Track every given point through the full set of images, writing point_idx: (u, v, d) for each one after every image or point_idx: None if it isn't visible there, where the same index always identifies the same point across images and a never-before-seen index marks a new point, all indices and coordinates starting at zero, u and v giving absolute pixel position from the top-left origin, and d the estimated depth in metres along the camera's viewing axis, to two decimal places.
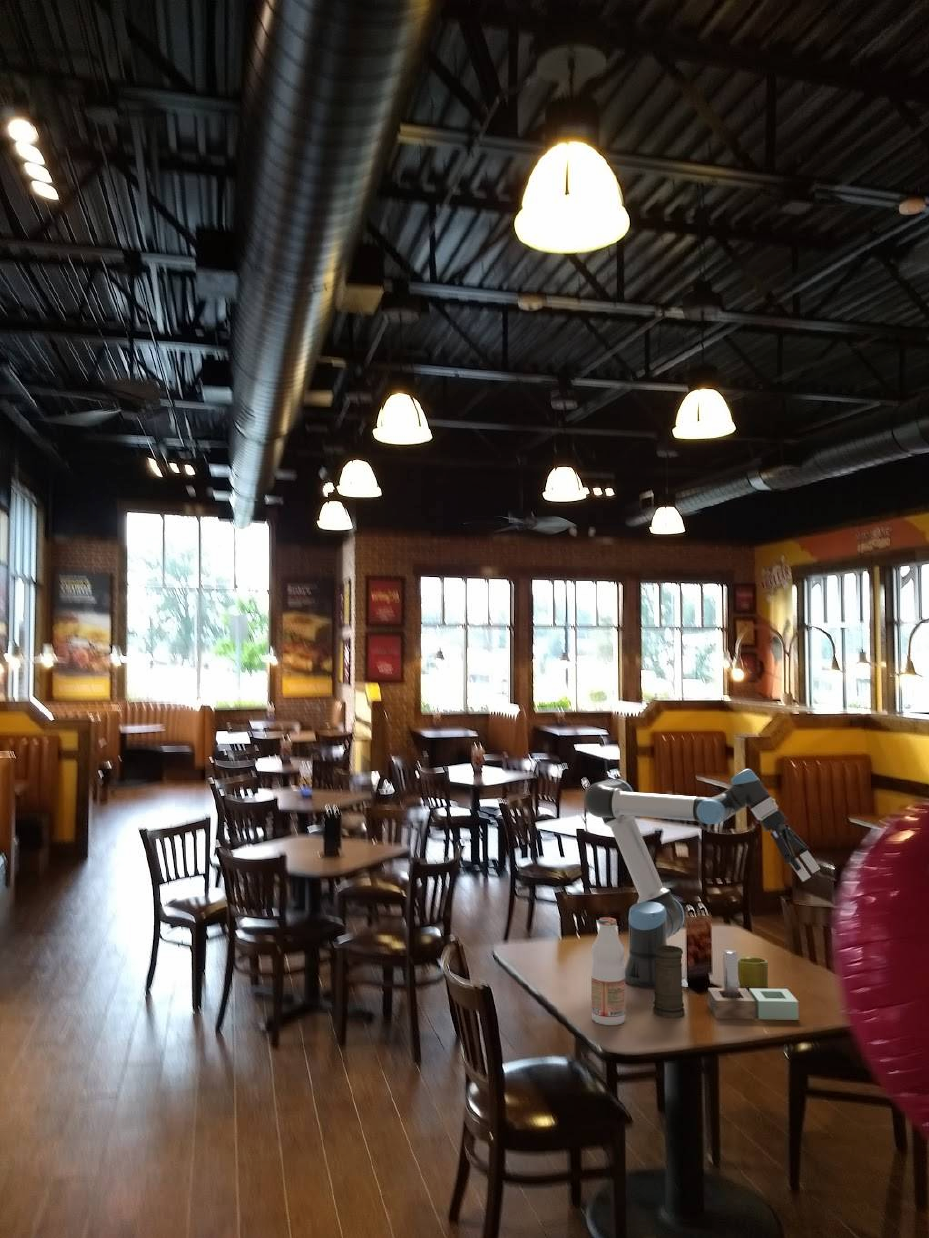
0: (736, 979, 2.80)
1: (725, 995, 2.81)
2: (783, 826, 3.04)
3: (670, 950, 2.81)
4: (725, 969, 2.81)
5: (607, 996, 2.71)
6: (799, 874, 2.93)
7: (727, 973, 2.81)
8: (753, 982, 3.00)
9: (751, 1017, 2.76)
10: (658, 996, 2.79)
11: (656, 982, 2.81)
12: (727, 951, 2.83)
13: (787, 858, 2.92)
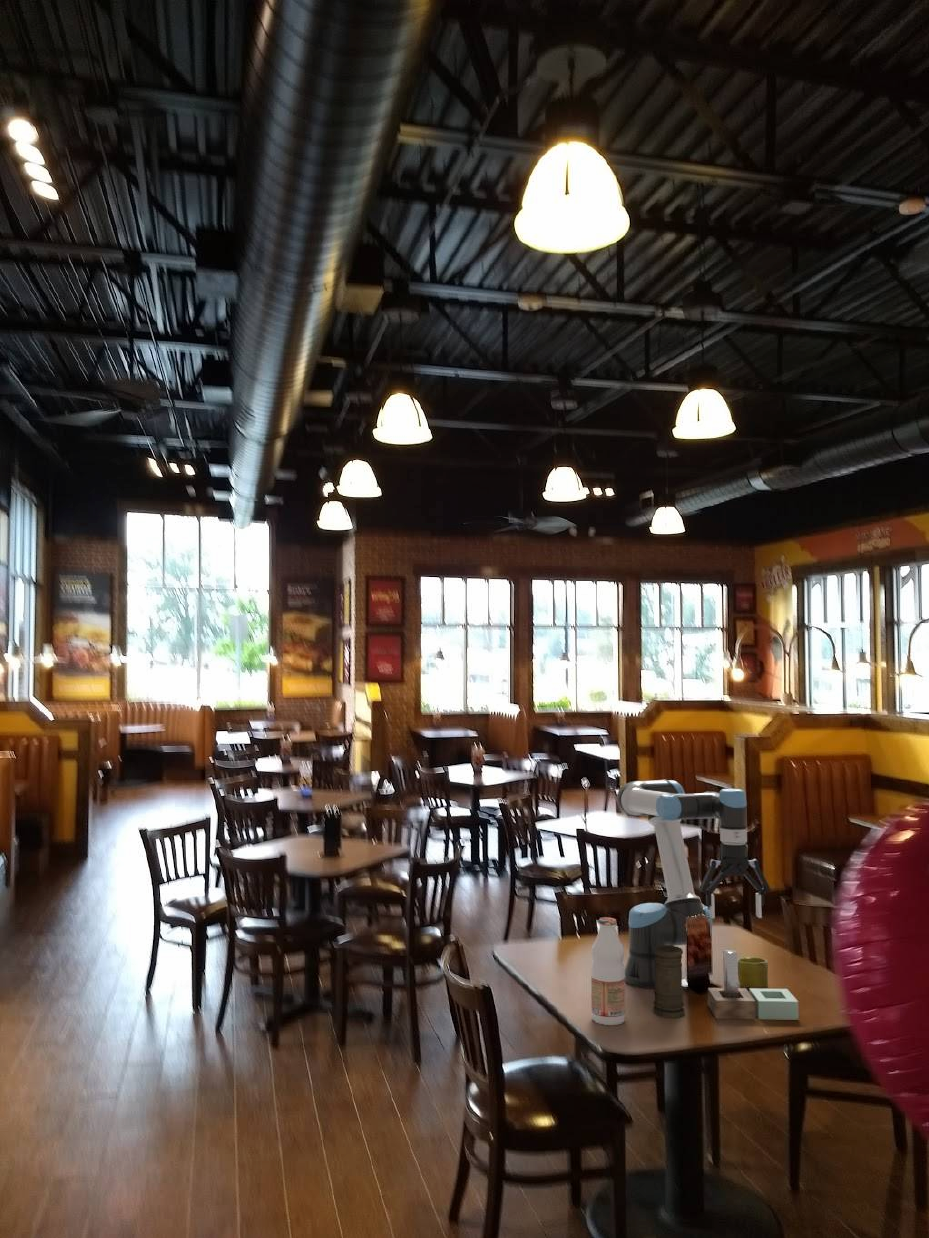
0: (736, 979, 2.80)
1: (725, 995, 2.81)
2: (740, 861, 2.83)
3: (670, 950, 2.81)
4: (725, 969, 2.81)
5: (607, 996, 2.71)
6: None
7: (727, 973, 2.81)
8: (753, 982, 3.00)
9: (751, 1017, 2.76)
10: (658, 996, 2.79)
11: (656, 982, 2.81)
12: (727, 951, 2.83)
13: (700, 889, 2.84)
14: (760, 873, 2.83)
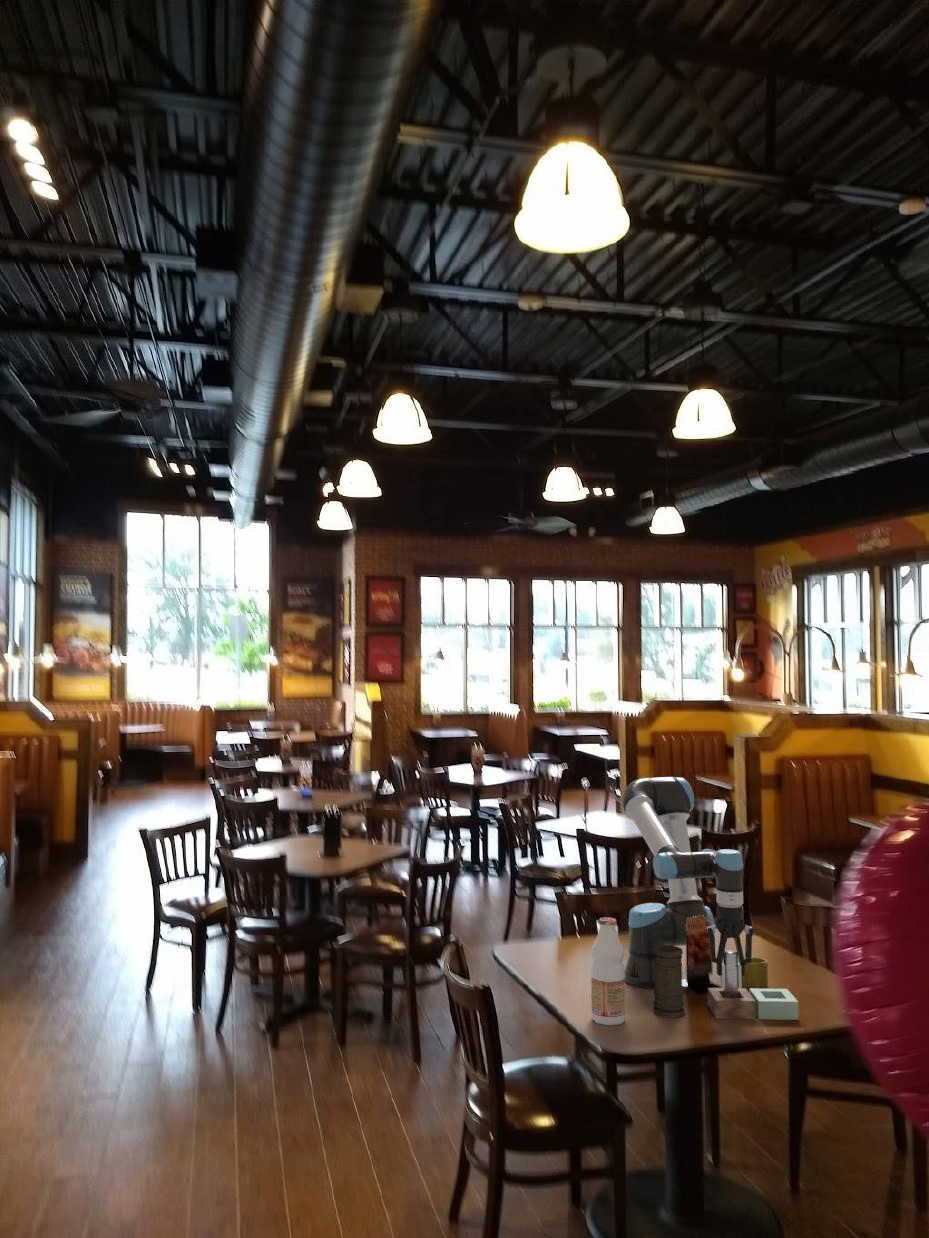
0: (736, 979, 2.80)
1: (725, 995, 2.81)
2: (738, 921, 2.82)
3: (670, 950, 2.81)
4: (725, 969, 2.81)
5: (607, 996, 2.71)
6: (720, 978, 2.83)
7: (727, 973, 2.81)
8: (753, 982, 3.00)
9: (751, 1017, 2.76)
10: (658, 996, 2.79)
11: (656, 982, 2.81)
12: (727, 951, 2.83)
13: (710, 958, 2.83)
14: (749, 942, 2.81)
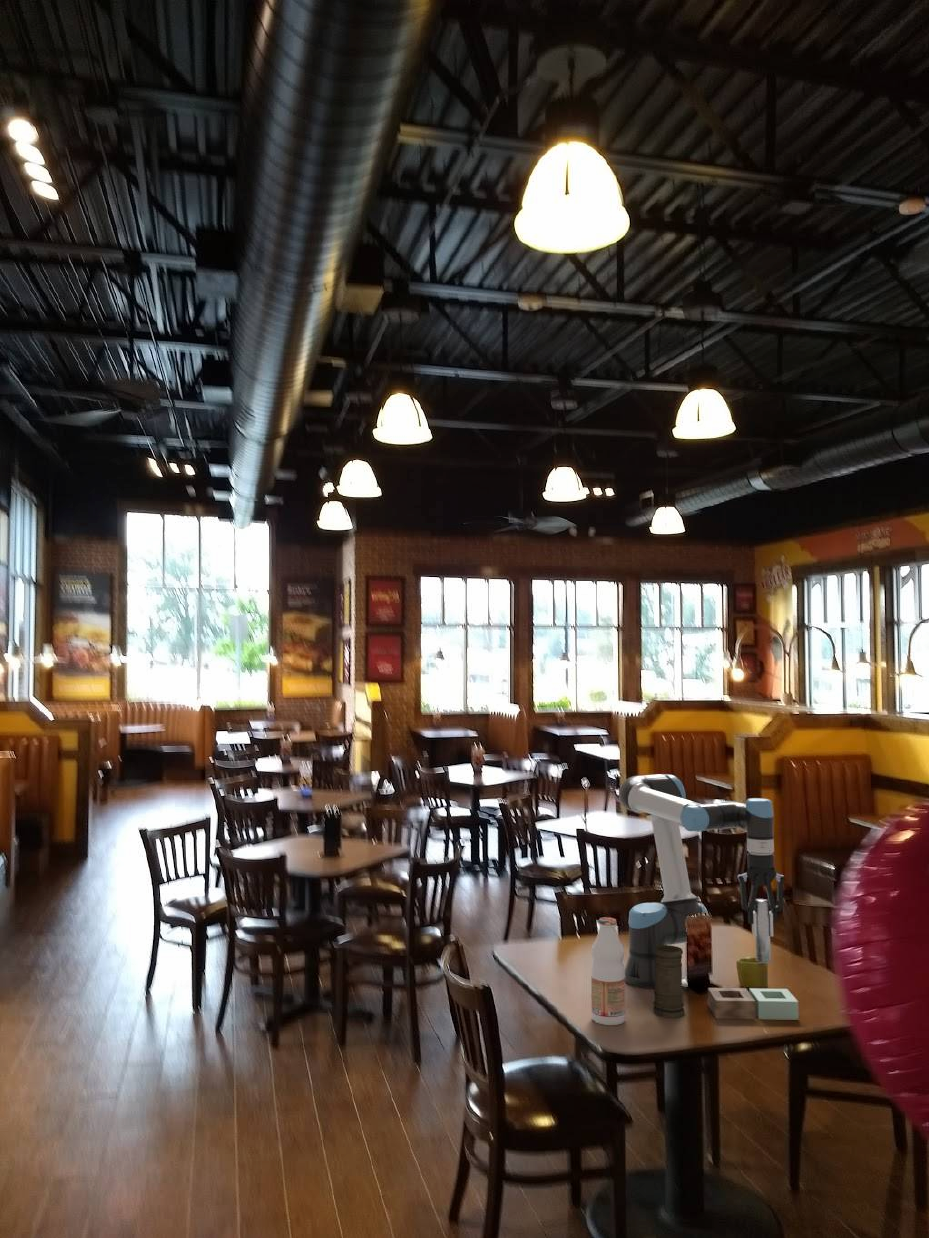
0: (768, 927, 2.80)
1: (757, 943, 2.81)
2: (769, 869, 2.82)
3: (670, 950, 2.81)
4: (756, 917, 2.81)
5: (607, 996, 2.71)
6: (752, 926, 2.83)
7: (759, 921, 2.80)
8: (753, 982, 3.00)
9: (751, 1017, 2.76)
10: (658, 996, 2.79)
11: (656, 982, 2.81)
12: (758, 899, 2.83)
13: (742, 907, 2.83)
14: (781, 889, 2.81)
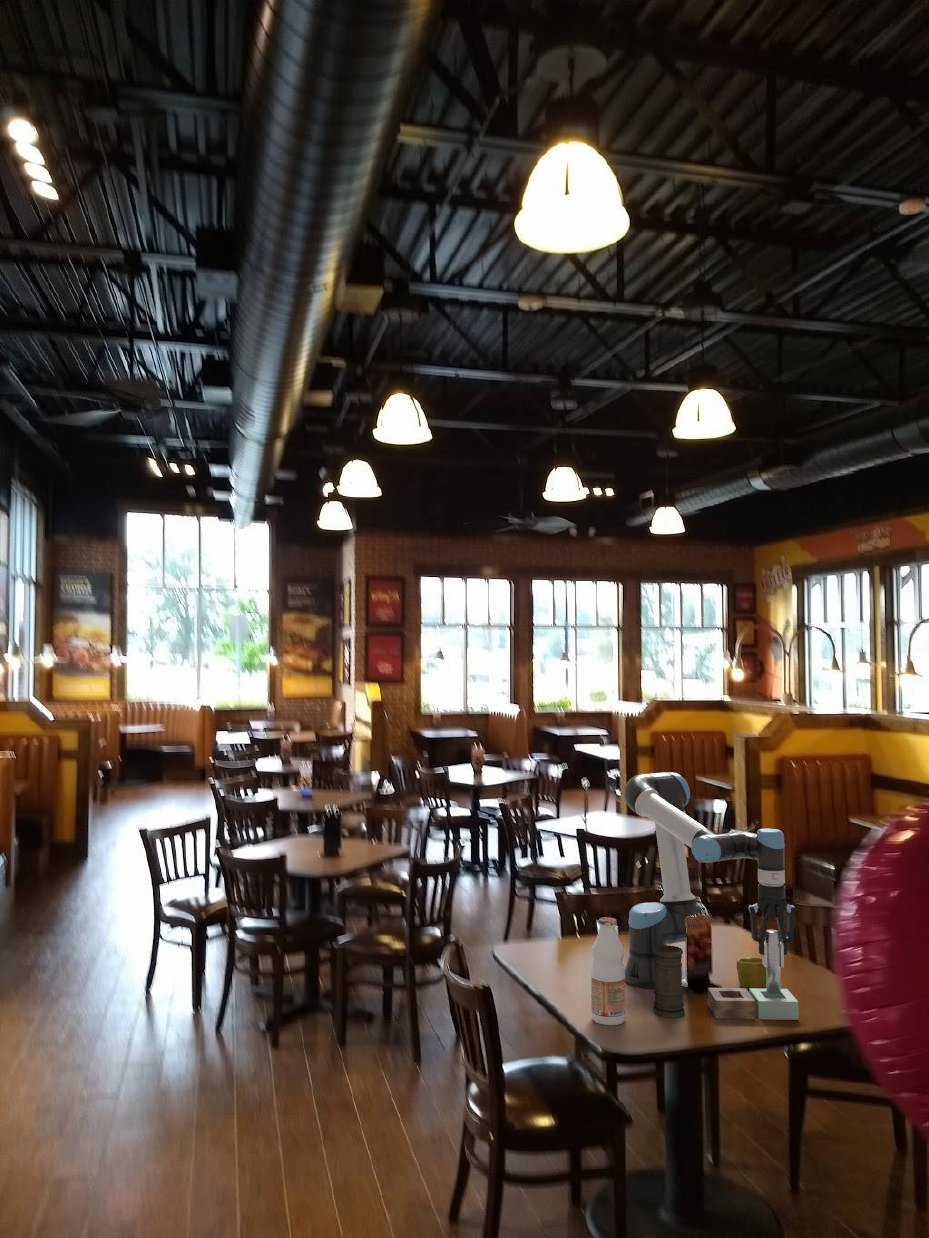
0: (778, 958, 2.80)
1: (767, 975, 2.81)
2: (780, 900, 2.81)
3: (670, 950, 2.81)
4: (767, 948, 2.81)
5: (607, 996, 2.71)
6: (762, 957, 2.83)
7: (770, 952, 2.80)
8: (753, 982, 3.00)
9: (751, 1017, 2.76)
10: (658, 996, 2.79)
11: (656, 982, 2.81)
12: (769, 930, 2.83)
13: (752, 937, 2.82)
14: (792, 920, 2.81)
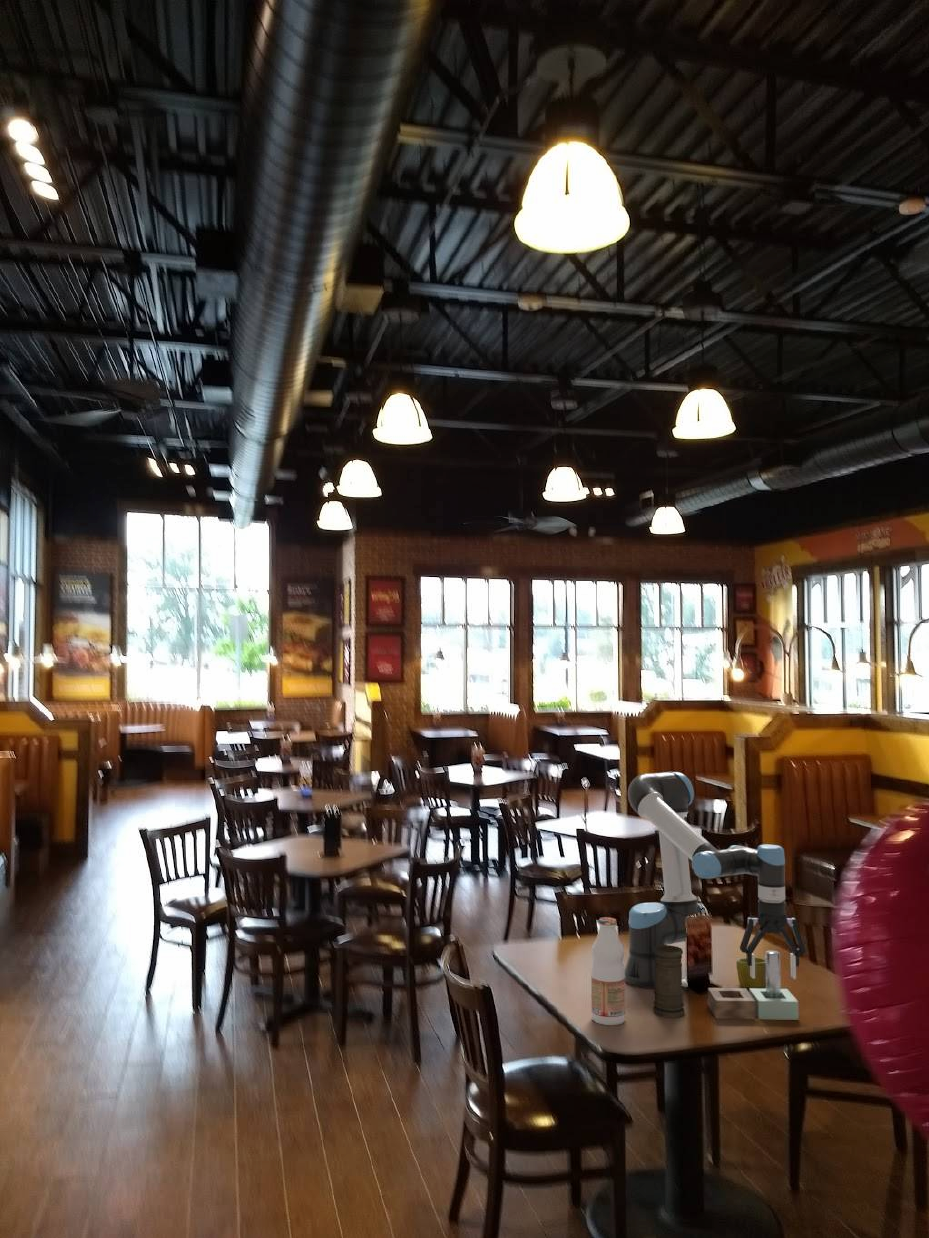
0: (778, 979, 2.80)
1: (767, 996, 2.80)
2: (779, 918, 2.81)
3: (670, 950, 2.81)
4: (767, 970, 2.81)
5: (607, 996, 2.71)
6: (750, 968, 2.83)
7: (770, 974, 2.80)
8: (753, 982, 3.00)
9: (751, 1017, 2.76)
10: (658, 996, 2.79)
11: (656, 982, 2.81)
12: (769, 951, 2.83)
13: (740, 949, 2.82)
14: (797, 933, 2.81)
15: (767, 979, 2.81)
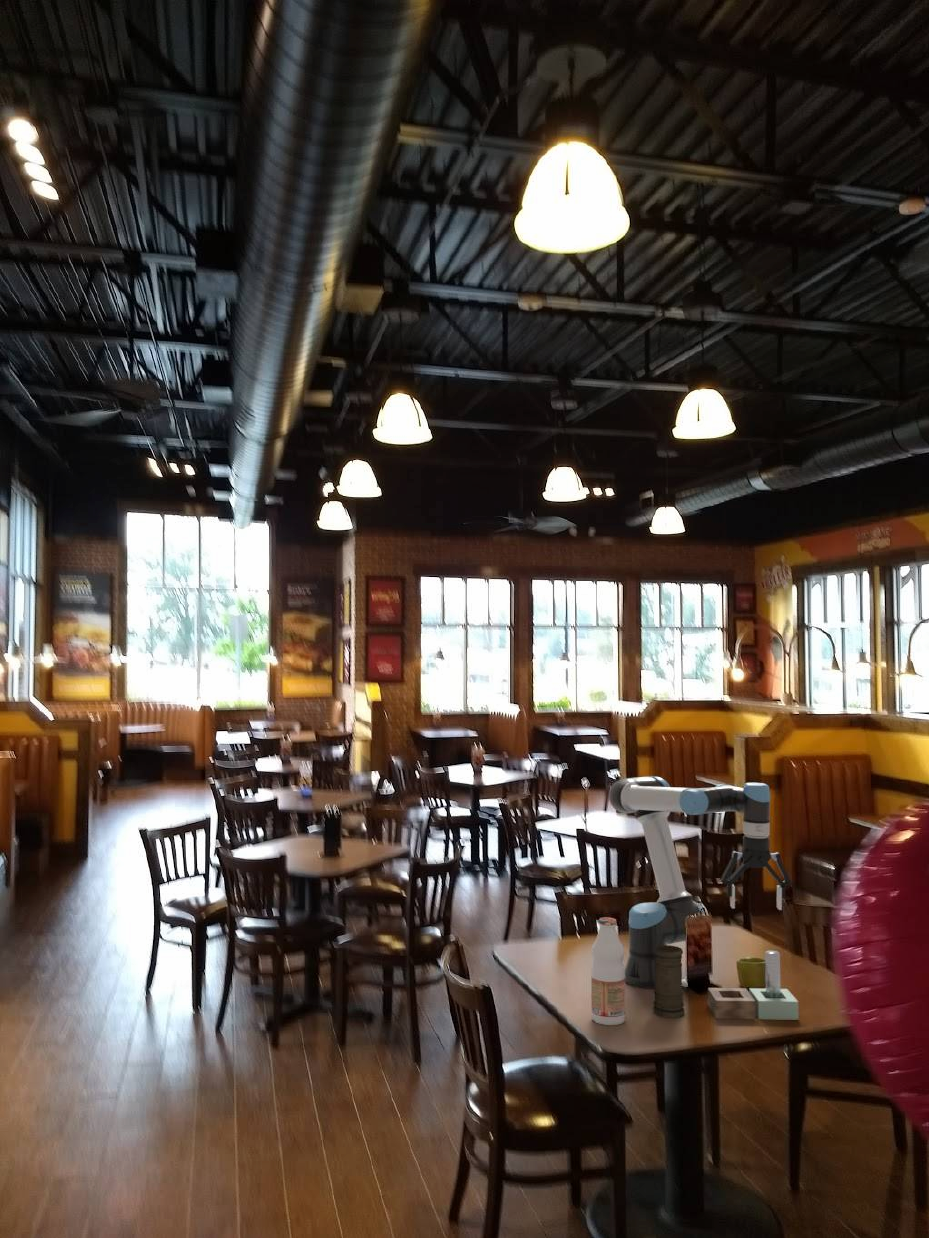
0: (778, 979, 2.80)
1: (767, 996, 2.80)
2: (762, 854, 2.88)
3: (670, 950, 2.81)
4: (767, 970, 2.81)
5: (607, 996, 2.71)
6: (730, 898, 2.91)
7: (770, 974, 2.80)
8: (753, 982, 3.00)
9: (751, 1017, 2.76)
10: (658, 996, 2.79)
11: (656, 982, 2.81)
12: (769, 951, 2.83)
13: (721, 880, 2.90)
14: (781, 866, 2.88)
15: (767, 979, 2.81)
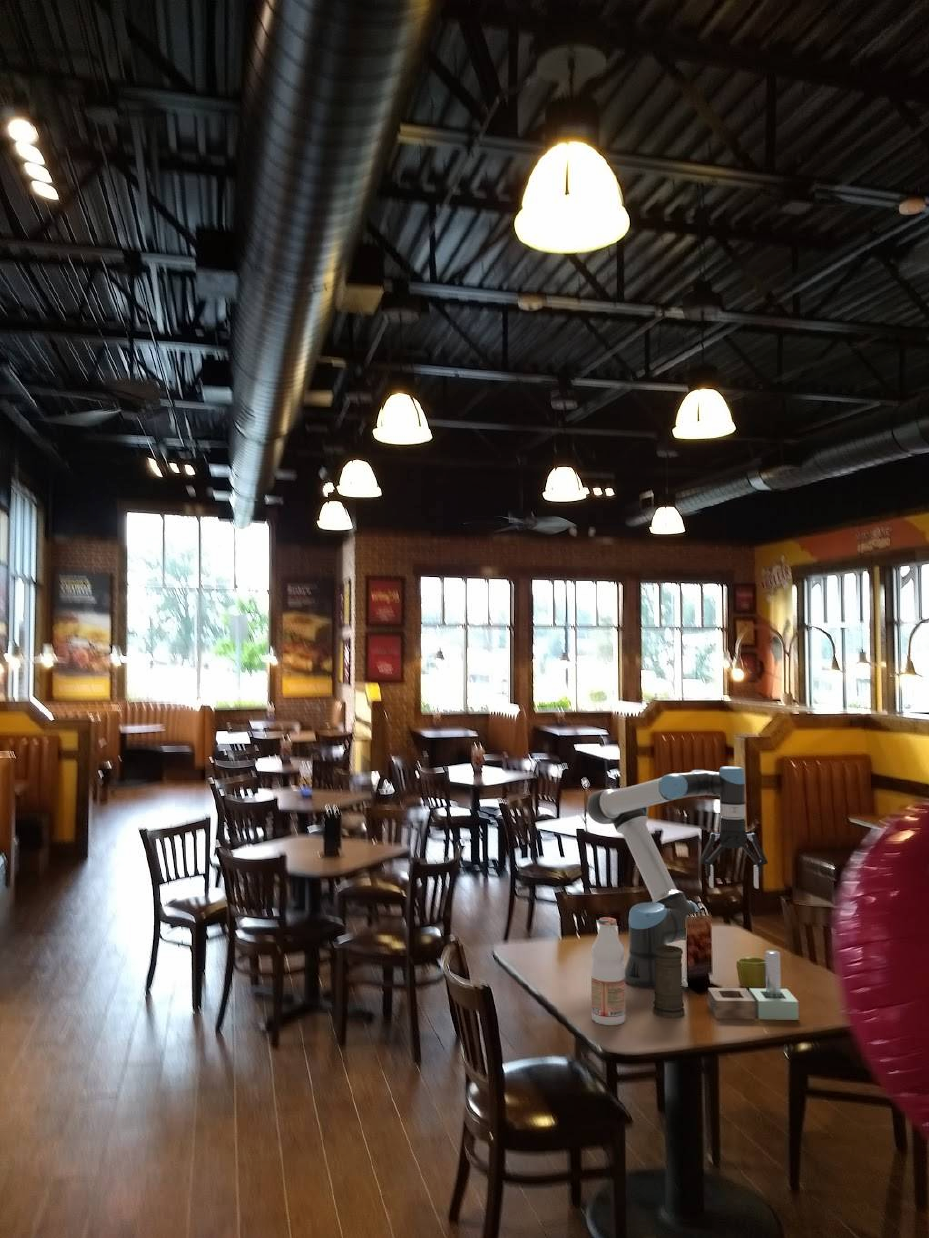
0: (779, 979, 2.80)
1: (767, 996, 2.80)
2: (739, 834, 2.99)
3: (670, 950, 2.81)
4: (767, 969, 2.81)
5: (607, 996, 2.71)
6: (709, 879, 3.01)
7: (770, 973, 2.80)
8: (753, 982, 3.00)
9: (751, 1017, 2.76)
10: (658, 996, 2.79)
11: (656, 982, 2.81)
12: (769, 951, 2.83)
13: (700, 861, 3.01)
14: (757, 846, 2.99)
15: (767, 979, 2.81)
